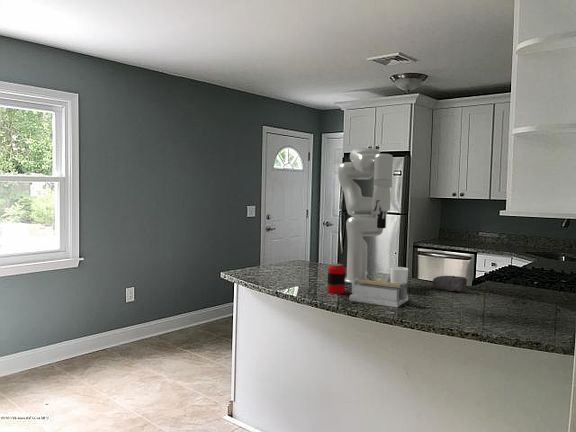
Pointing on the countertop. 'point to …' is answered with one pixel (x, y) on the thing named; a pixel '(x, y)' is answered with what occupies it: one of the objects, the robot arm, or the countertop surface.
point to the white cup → (398, 275)
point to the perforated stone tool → (450, 283)
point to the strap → (378, 283)
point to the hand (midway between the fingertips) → (381, 227)
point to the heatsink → (379, 294)
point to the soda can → (336, 279)
